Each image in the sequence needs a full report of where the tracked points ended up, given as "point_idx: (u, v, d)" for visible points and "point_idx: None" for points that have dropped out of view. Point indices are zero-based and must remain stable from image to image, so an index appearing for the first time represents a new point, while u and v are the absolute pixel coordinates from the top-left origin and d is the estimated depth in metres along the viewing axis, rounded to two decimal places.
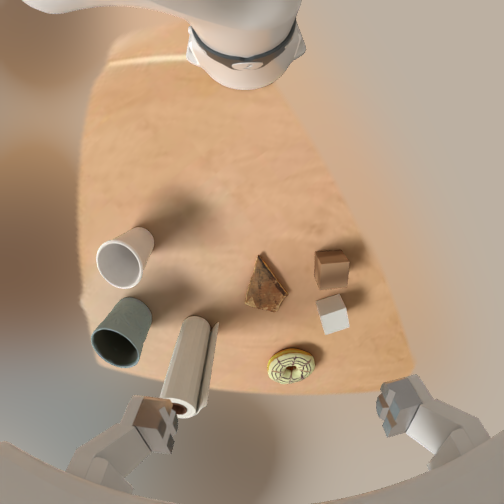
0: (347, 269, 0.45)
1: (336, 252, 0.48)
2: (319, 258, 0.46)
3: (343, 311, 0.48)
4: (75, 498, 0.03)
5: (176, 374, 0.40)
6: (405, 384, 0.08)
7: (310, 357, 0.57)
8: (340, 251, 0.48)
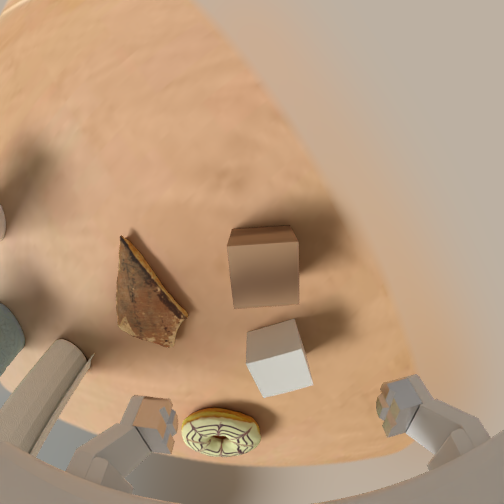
0: (295, 260, 0.20)
1: (276, 228, 0.23)
2: (232, 237, 0.21)
3: (295, 355, 0.22)
4: (75, 498, 0.03)
5: None
6: (405, 384, 0.08)
7: (249, 425, 0.30)
8: (286, 227, 0.23)
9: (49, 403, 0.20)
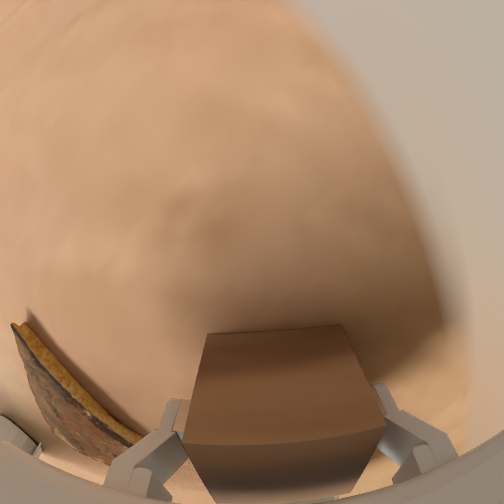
0: (365, 453, 0.06)
1: (314, 342, 0.09)
2: (202, 385, 0.07)
3: None
4: (75, 498, 0.03)
5: None
6: None
7: None
8: (336, 334, 0.09)
9: None
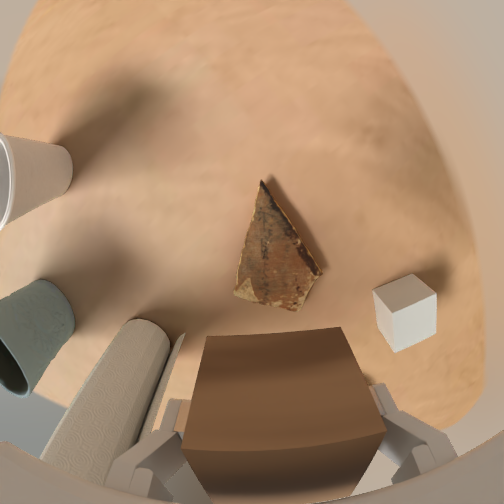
0: (365, 458, 0.05)
1: (314, 346, 0.09)
2: (201, 390, 0.07)
3: (431, 300, 0.21)
4: (75, 498, 0.03)
5: (66, 433, 0.12)
6: None
7: None
8: (336, 338, 0.09)
9: (139, 399, 0.19)
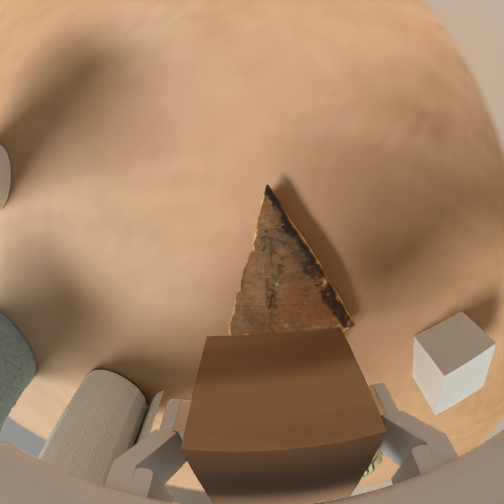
0: (365, 459, 0.05)
1: (314, 346, 0.09)
2: (201, 391, 0.07)
3: (488, 352, 0.13)
4: (75, 498, 0.03)
5: None
6: None
7: (377, 452, 0.20)
8: (336, 338, 0.09)
9: None
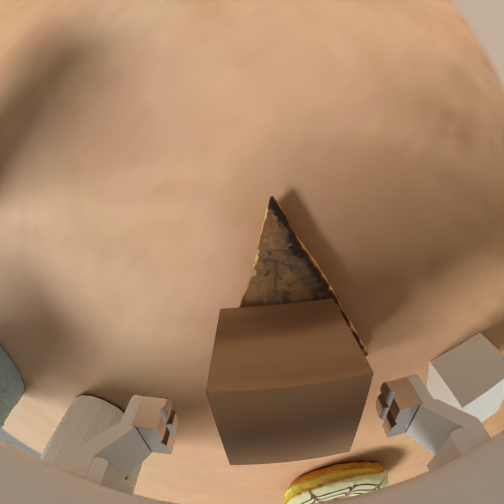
0: (358, 403, 0.08)
1: (311, 312, 0.11)
2: (219, 348, 0.09)
3: None
4: (75, 498, 0.03)
5: None
6: (405, 384, 0.08)
7: (383, 475, 0.17)
8: (329, 306, 0.11)
9: None
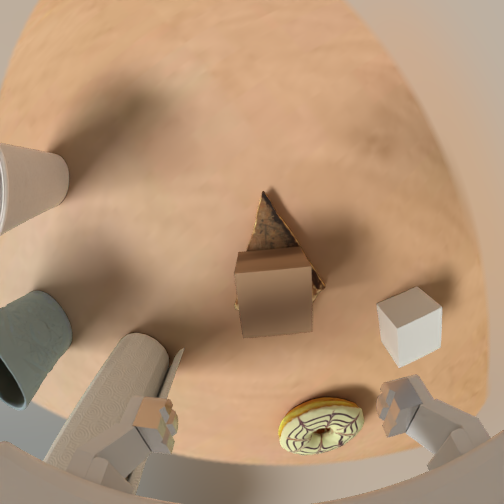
0: (308, 286, 0.18)
1: (286, 251, 0.22)
2: (239, 263, 0.20)
3: (436, 314, 0.20)
4: (75, 498, 0.03)
5: (62, 450, 0.11)
6: (405, 384, 0.08)
7: (358, 411, 0.27)
8: (296, 249, 0.22)
9: None
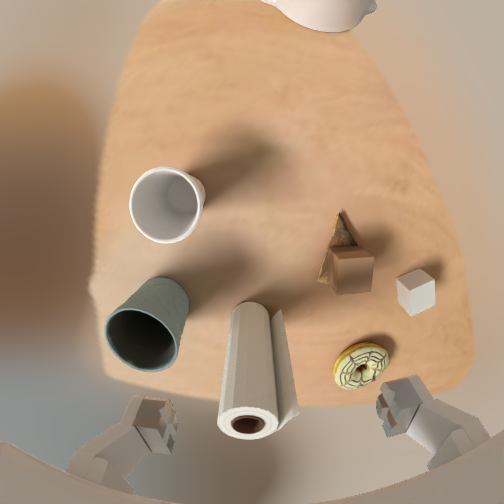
0: (371, 267, 0.34)
1: (355, 248, 0.37)
2: (335, 253, 0.36)
3: (431, 283, 0.36)
4: (75, 498, 0.03)
5: (244, 372, 0.27)
6: (405, 384, 0.08)
7: (385, 351, 0.43)
8: (360, 247, 0.38)
9: (271, 349, 0.34)
